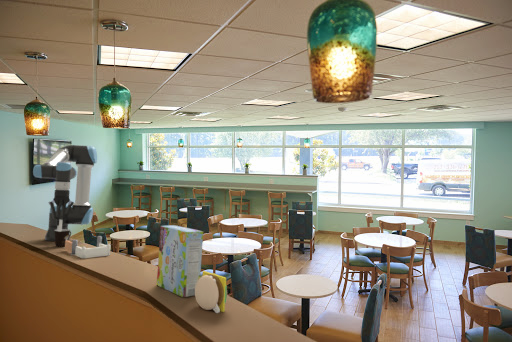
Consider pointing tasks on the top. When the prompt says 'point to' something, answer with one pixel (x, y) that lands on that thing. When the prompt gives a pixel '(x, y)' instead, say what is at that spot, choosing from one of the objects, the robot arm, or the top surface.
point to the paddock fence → (93, 250)
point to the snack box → (179, 259)
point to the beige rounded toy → (211, 292)
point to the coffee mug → (61, 237)
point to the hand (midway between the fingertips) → (59, 231)
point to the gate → (71, 245)
